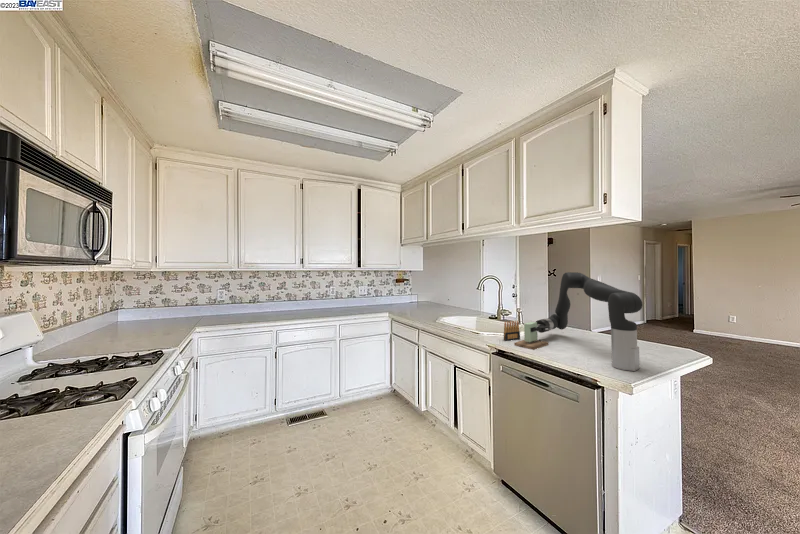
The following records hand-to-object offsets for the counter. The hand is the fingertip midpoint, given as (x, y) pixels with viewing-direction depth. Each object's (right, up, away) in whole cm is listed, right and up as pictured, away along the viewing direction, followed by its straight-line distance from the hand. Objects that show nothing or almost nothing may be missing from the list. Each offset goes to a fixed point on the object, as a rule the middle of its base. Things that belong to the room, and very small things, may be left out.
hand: (528, 329), depth 169 cm
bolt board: (+3, -9, +2) cm, 10 cm away
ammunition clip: (-4, -10, +14) cm, 18 cm away
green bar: (+2, -7, +2) cm, 7 cm away
